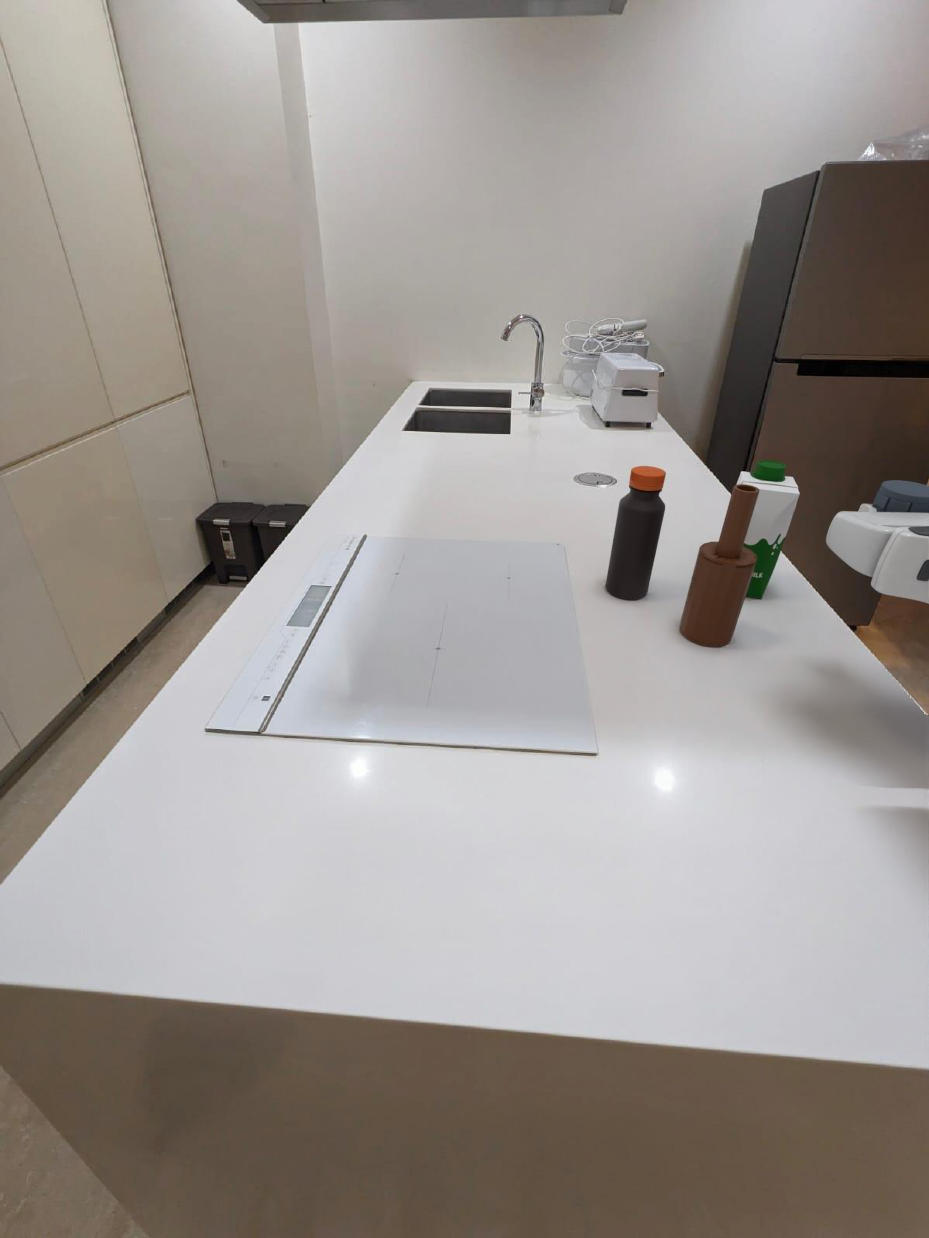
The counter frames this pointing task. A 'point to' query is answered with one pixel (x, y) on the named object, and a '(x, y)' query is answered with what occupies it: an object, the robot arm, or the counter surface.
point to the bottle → (721, 576)
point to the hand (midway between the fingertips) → (894, 510)
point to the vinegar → (636, 534)
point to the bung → (903, 497)
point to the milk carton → (768, 519)
